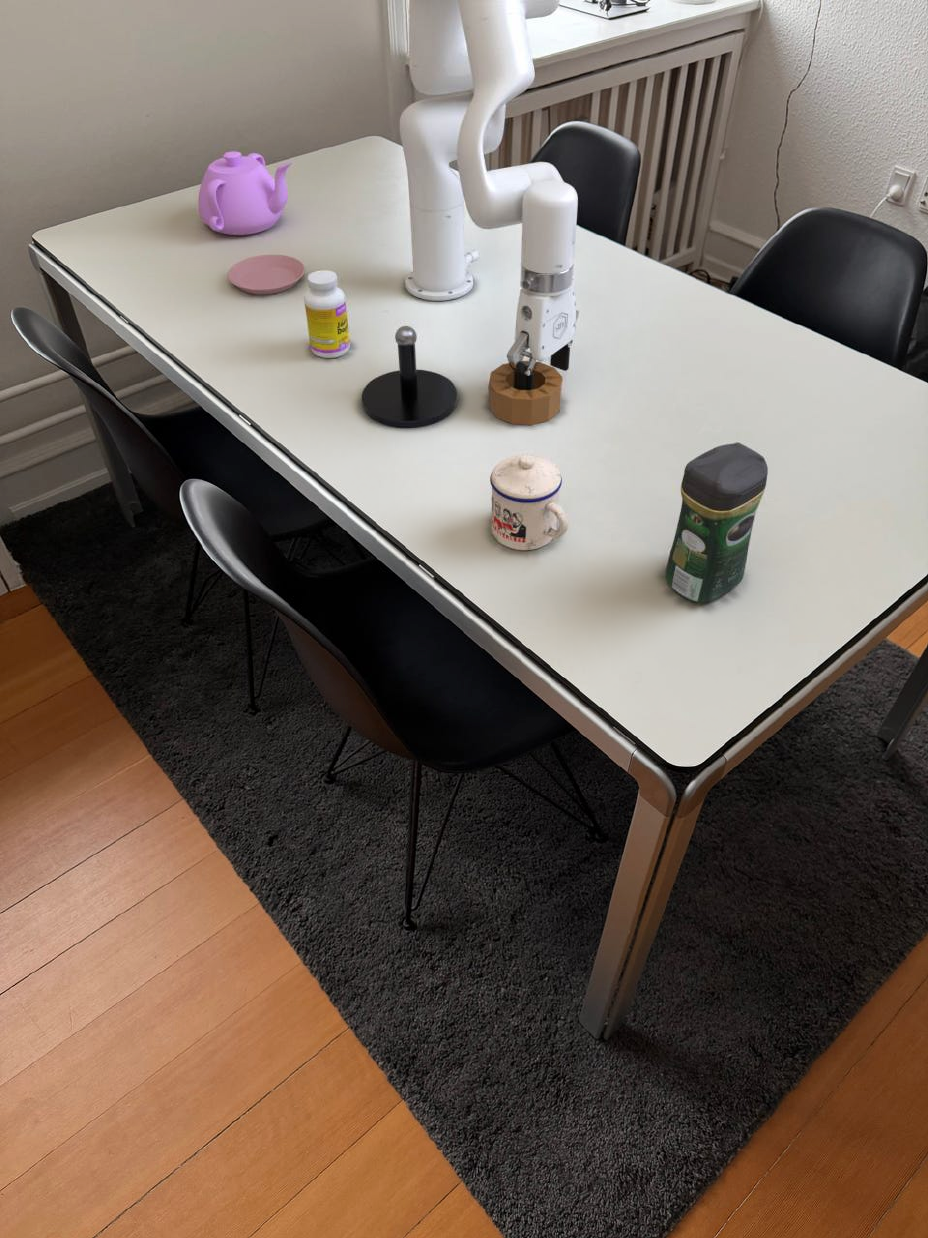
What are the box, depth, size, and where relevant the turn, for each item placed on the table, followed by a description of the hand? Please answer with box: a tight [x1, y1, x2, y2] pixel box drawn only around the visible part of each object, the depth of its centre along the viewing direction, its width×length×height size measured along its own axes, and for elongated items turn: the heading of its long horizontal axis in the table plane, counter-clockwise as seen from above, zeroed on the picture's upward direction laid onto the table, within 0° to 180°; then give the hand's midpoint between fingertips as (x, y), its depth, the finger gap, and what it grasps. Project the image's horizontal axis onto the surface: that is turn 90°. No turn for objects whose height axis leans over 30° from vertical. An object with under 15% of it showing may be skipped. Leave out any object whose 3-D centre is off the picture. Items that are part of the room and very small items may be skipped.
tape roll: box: [488, 360, 563, 426], centre depth 145 cm, size 11×11×4 cm
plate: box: [227, 254, 306, 296], centre depth 177 cm, size 14×14×2 cm
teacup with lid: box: [489, 454, 569, 551], centre depth 121 cm, size 12×9×12 cm
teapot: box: [197, 150, 292, 236], centre depth 191 cm, size 22×22×14 cm
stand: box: [360, 325, 459, 429], centre depth 144 cm, size 15×15×13 cm
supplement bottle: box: [303, 269, 351, 359], centre depth 155 cm, size 7×7×13 cm
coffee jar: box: [664, 441, 769, 604], centre depth 112 cm, size 10×8×19 cm
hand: (541, 380), depth 148 cm, fingers open, 9 cm apart
